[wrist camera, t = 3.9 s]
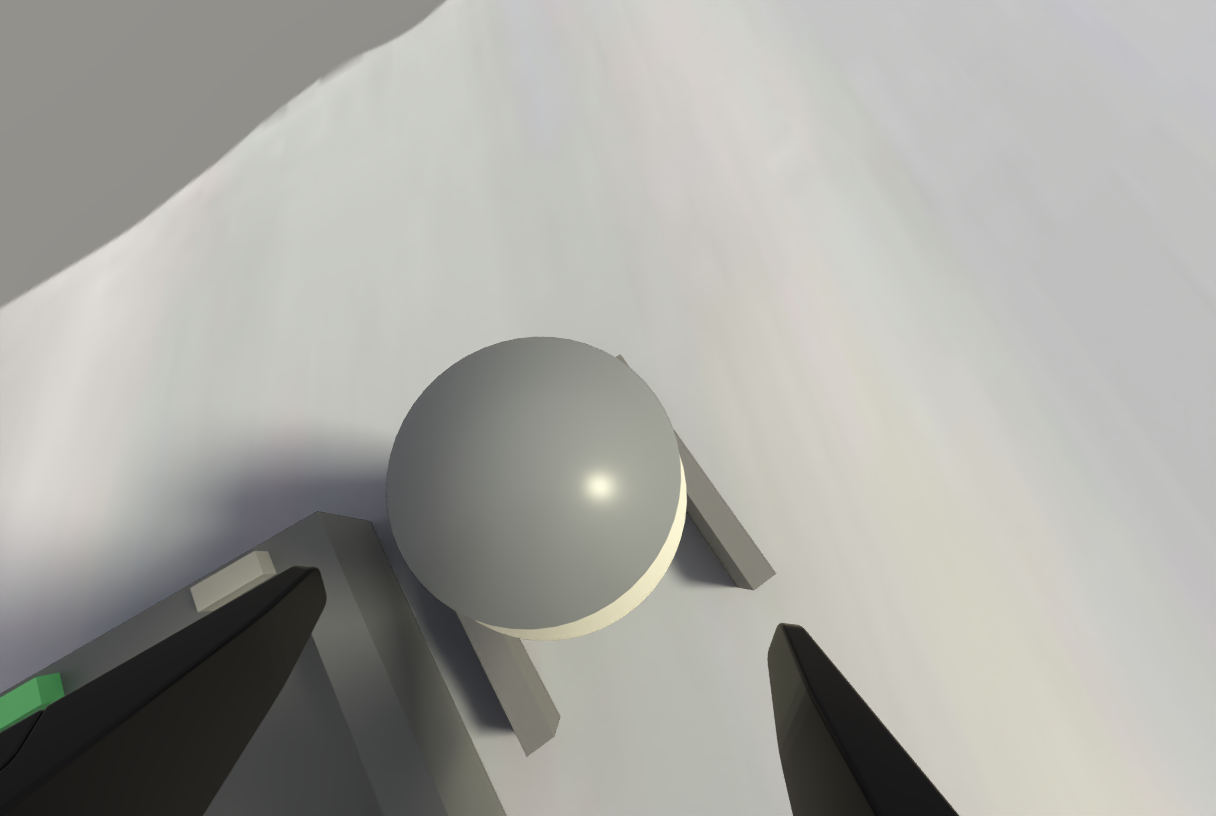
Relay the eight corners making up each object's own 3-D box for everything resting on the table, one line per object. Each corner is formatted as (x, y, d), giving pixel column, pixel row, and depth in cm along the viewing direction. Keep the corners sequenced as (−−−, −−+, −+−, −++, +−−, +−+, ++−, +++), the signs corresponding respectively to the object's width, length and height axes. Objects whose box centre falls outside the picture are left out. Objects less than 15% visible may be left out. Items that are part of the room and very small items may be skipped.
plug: (665, 551, 18) (783, 523, 6) (561, 623, 18) (455, 757, 5) (601, 451, 20) (590, 262, 7) (501, 513, 19) (303, 417, 7)
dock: (513, 831, 16) (481, 922, 12) (149, 1108, 13) (-44, 1337, 9) (370, 521, 19) (305, 509, 15) (58, 705, 17) (-114, 749, 13)
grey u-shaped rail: (758, 572, 18) (776, 573, 16) (536, 734, 16) (526, 756, 15) (619, 373, 21) (620, 354, 19) (415, 494, 19) (394, 486, 17)
